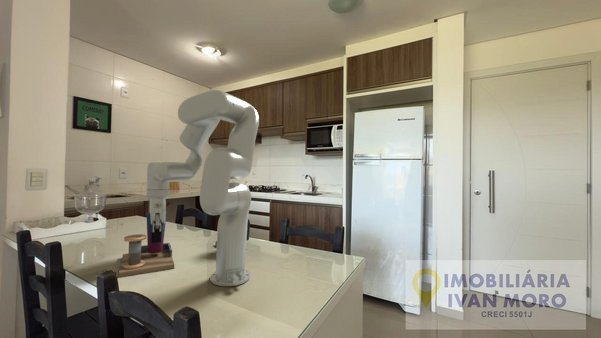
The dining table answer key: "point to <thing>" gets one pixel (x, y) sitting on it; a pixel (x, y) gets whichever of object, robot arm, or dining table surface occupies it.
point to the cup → (151, 246)
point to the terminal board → (144, 258)
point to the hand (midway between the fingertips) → (155, 239)
